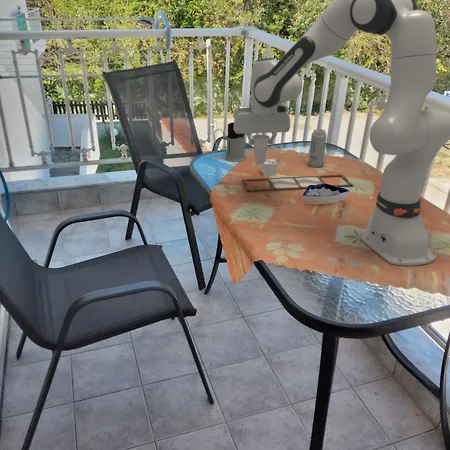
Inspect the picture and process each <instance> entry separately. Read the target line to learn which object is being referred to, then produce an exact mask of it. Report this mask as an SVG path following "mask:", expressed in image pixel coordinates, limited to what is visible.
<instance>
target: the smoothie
mask: <svg viewBox="0 0 450 450" xmlns="http://www.w3.org/2000/svg"><path fill="white" fill-rule="evenodd" d="M251 136H252V138H251V139H252V140H254V145H253V155H254V163H255V164H260V165H261V164H263V163H265V160H267V159H266V157H267V152H268V146H269V144H268V142H269V140H270V138H271V137H270V135H268V134H264V133H256V134H254V135H251Z"/></svg>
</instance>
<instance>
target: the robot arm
mask: <svg viewBox="0 0 450 450" xmlns="http://www.w3.org/2000/svg"><path fill="white" fill-rule="evenodd" d="M357 31H361V32H364V33H367V34H371V35H377V36H383V35H385V36H387V37H388V40H390V49H391V52H390V53H391V57H390V60H391V61H390V87H389V94H388V97H387V100H386V103H385V106H384V108H383V110H382V112H381V113H380V115H379V116H378V118H377V119H376V120H375V121H374V122H373V123H372V125H371V127H370V130H369V141H370V144H371V146H372V148H373V150H375V152H376V153H378V154H380V155H388V156H390V155H391V156H394V158H393V159H391V161H390V162H389V163H387V165H386V166H385V168H384V169H383V174H382V179H381V183H380V190H379V191H378V193H377V196H376V201H375V202H376V203H375V205H376V207H375V208H374V210H373V211H372V213H371V214H370V216H369V220H368V223H367V226H366V230H365V233H364V234H362V235H361V237H360V240H361V241H362V242H363V243H364V244H366V245H367V246H368V247H369V248H370V249H371V250H373V251H374V252H375V253H376V254H378V255H379V256H380V257H381V258H382V259H384V260H385V261H386V262H387V263H389V264H391V265H395V266H396V265H397V266H420V265H421V266H422V265H426V264H430V263H432V262H434V261H435V260H436V256H435V255H434V253H433V252H432V250H431V248H430V246H429V242H430V238H429V237H430V236H431V230H430V229H429V228H428V229H427V228H426V227H425V224H424V220H423V219H422V217H421V213H422V212H423V211H422V210H423V208H421V206H422V203H421V198H420V197H421V193H422V190H423V189H422V188H423V186H424V181H425V178H426V174H427V173H428V170H429V169H430V166H431V165H432V163H433V161H434V160H435V158H436V156H437V155H438V153H439V152H440V150H441V149H442V147H444V146H445V144H447V143H448V142H449V141H450V113H449V112H448V111H446V110H444V109H437V108H425V109H424V108H423V105H424V102H425V100H426V99H427V96H428V95H429V93H431V92H432V91H433V90H434V88H435V86H436V83H437V56H438V55H437V54H438V49H437V47H438V44H437V41H438V40H437V31H436V26H435V19H434V17H433V15H432V14H431V13H430V12H428V11H426V10H420V9H418V4H417V1H416V0H332V1H331V2H330V3H329V4H328V5H327V6H326V8H325V9H324V10H323V11H322V12H321V14H320V15H319V16H318V17H317V19H316V20H315V21H314V22H313V24H312V25H310V27H309V28H308V29H307V31H306V32H305V33H304V34H303V35H302V36H301V37H300V39H299V40H298V41H297V42H295V44H294V45H293V46H291V48H290V49H289V50H288V51H287V52H285V54H284V55H283V56H282V57H281V59H280V60H279V61H278V59H277V58H274V57H265V58H260V59H257V60H255V61H254V63H253V65H252V68H251V69H252V70H251V75H250V78H251V79H250V86H251V94H250V104H249V105H250V106H238V107H236V108H235V109H234V110H233V119H234V120H233V123H234V131H235V132H236V133H237V134H245V136H246V137H247V139H248V145H249V146H254V140H252V138H251V136H252V134H262V133H263V134H270V133H271V134H272V135H271V137H270V140H269V142H268V145H274V140H275V139H276V137H277V135H278V133H288V132H289V131H290V130H291V117H290V114H289V106H288V105H287V104H286V102H289V101H292V100H295V99H296V98H298V97H299V96H300V94H301V93H302V89H303V82H302V78H301V77H300V75H299V74H298V73H299V72H300V70H301V69H303V68H304V67H306V66H307V65H309V64H311V63H313V62H315V61H318V60H321V59H324V58H325V57H329V56H331V55H334V54H335V53H336V52H338V51H339V50H340V49H342V48H343V47H344V46H345V45H346V44H347V43H348V42H349V40H351V38H352V37H353V36H354V35H355V34H356V33H357ZM422 108H423V109H422Z"/></svg>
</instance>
